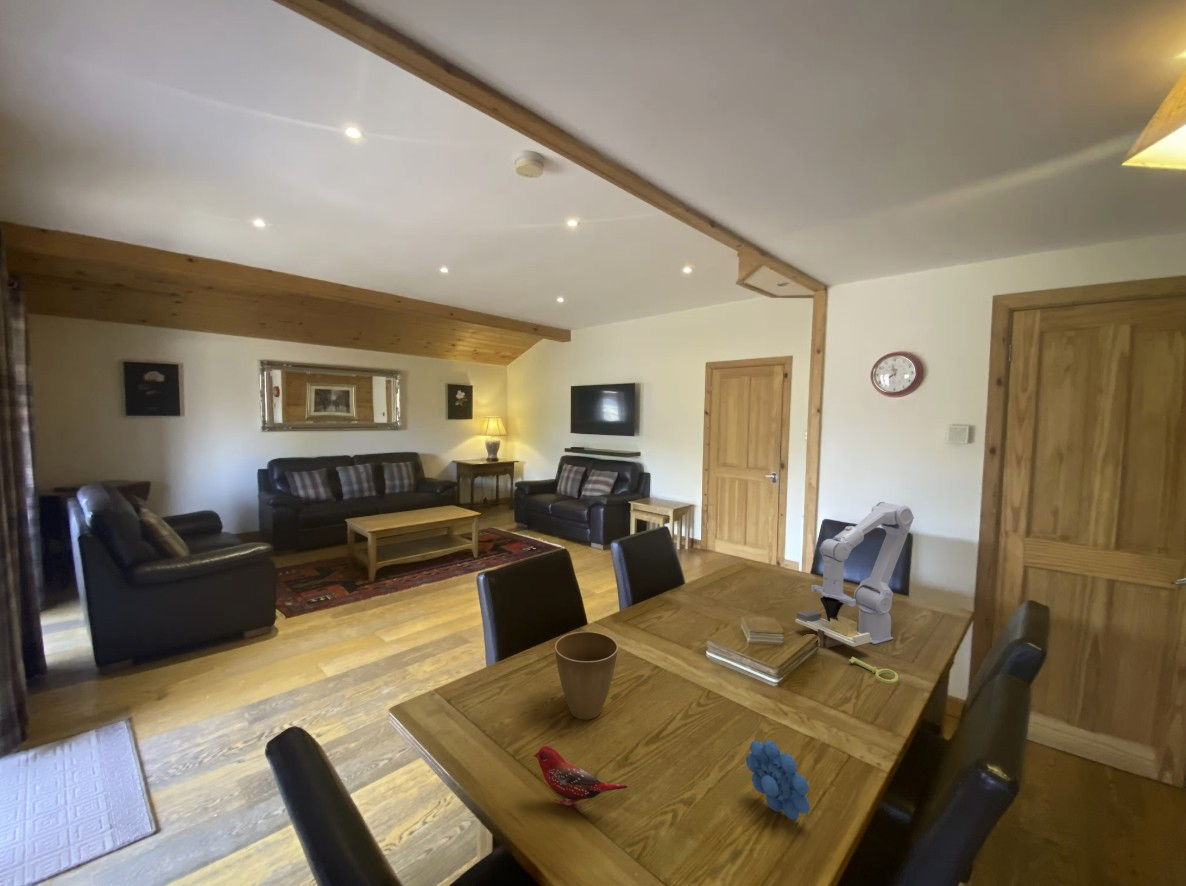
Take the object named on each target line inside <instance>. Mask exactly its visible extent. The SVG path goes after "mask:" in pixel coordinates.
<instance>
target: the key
mask: <svg viewBox="0 0 1186 886" xmlns="http://www.w3.org/2000/svg"><path fill="white" fill-rule="evenodd" d="M848 662H849V663H851V664H857V665H859V666H861V667H863V668H865V669H867V670H868V671H870V672H872V674H874V675H875V679H876V680H877V681H880V682H882V683H884V684H893V683H896V682H898V681H899V679H900V678H899V675H898V673H897V672H896V671H894V670H892V669H889V668H880V669H878V667H876V666H871V665H870V664H868V663H866V662H864V661H862V660H860V659H859V658H856V657H854V656H852V657H851V658H850V659H848ZM883 674H890V675H892V676H894V678H892V679H885V678H882V677H881V676H880V675H883Z"/></svg>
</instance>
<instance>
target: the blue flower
mask: <svg viewBox="0 0 1186 886" xmlns="http://www.w3.org/2000/svg"><path fill="white" fill-rule="evenodd" d="M749 746H750V747H749V749H750V752H751V753H748V754H747V755H746V758H745V761H746V767H747V768H748V769H749V771H751V773H753V774H752V775H751V782H752V786H753V787H754V789H755V790H756V791H757V792H759V793H761V794H765V800H766V804H767V805H768V807H769V809H771V810H773V811H774V812H776V813H778V812H781V811H782V812H783V814H784V815H785V817H786V818H788V819H790V820H792V821H796V820H798V818H799V817H800V813H801V814H804V815H805V814H808V813H809V811H810V802H809V800H808V797H807V796H806V795H808V794H809V791H810V788H809V783H808V782H807V779H806V778H805V777H804V776H803V775H802V774H800V773H797V771H798V770H797V768H798V766H797V763H796V760H795V758H794V757H793V756H792V755H791V754H789V753H788V752H787V753H786V752H782V753H781V751H780V748H779V745H778V744H777V743H776V742H774V741H772V740H765V741H764V742H763V743H762V742H761V741H758V740H753V741H751V743H750V745H749Z"/></svg>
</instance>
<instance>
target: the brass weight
mask: <svg viewBox="0 0 1186 886" xmlns="http://www.w3.org/2000/svg"><path fill="white" fill-rule="evenodd" d="M830 630H832V631H835V632H837V633H839V634H842V635H844V636H847V637H853V636H856V635H857V631H858V622H857V621H855V620H852V619H850V618H846V617H844V616H841V615H837V616H836V617H832V618H830Z"/></svg>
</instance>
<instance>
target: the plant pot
mask: <svg viewBox="0 0 1186 886" xmlns="http://www.w3.org/2000/svg"><path fill="white" fill-rule="evenodd" d="M618 650H619V645H618V643H617V641H616V640H615V639H614V638H613V637H610V636H609V635H607V634H604V633H601V632H597V631H576V632H571V633H568V634H565V635H563V636H561V637H560V638H559V639H558V640H556V642H555V644H554V652H555V657H556V665H557V669H558V670H557V671H558V676H559V680H560V684H561V685H560V686H561V687H562V691H563V696H564V698H565V700H566V704H567V706H568V709H569V712H570V713H571V715H572V716H573V717H575V718H576V719H580V720H591V719H595V718H596V717H598V716H599V715H600V714H601V713H602V710H603V708H604V705H605V702H606V700H607V697H608V694H609V692H610V689H611V684H612V681H613V678H614V674H615V673H614V672H615V668H616V661H617V656H618Z"/></svg>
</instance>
